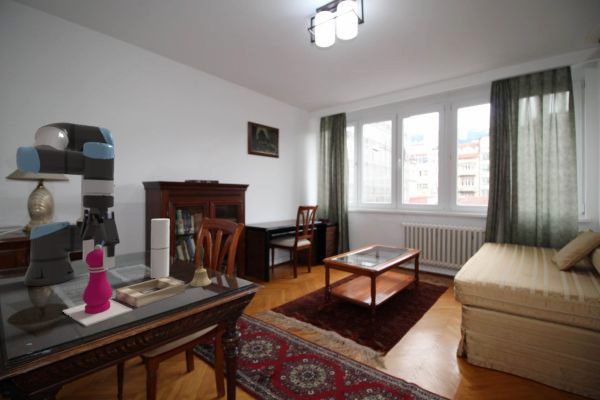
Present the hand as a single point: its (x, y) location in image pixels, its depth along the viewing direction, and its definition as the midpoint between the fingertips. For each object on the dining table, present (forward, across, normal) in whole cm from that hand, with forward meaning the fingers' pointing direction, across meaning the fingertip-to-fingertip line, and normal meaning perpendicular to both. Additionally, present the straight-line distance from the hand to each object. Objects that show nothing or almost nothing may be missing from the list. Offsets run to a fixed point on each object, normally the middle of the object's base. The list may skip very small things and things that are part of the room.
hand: (98, 264), depth 82 cm
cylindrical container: (+15, +18, -30) cm, 38 cm away
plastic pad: (+14, 0, 0) cm, 15 cm away
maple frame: (+15, 0, -16) cm, 22 cm away
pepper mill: (+14, 0, 0) cm, 14 cm away
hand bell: (+15, -4, -34) cm, 38 cm away
